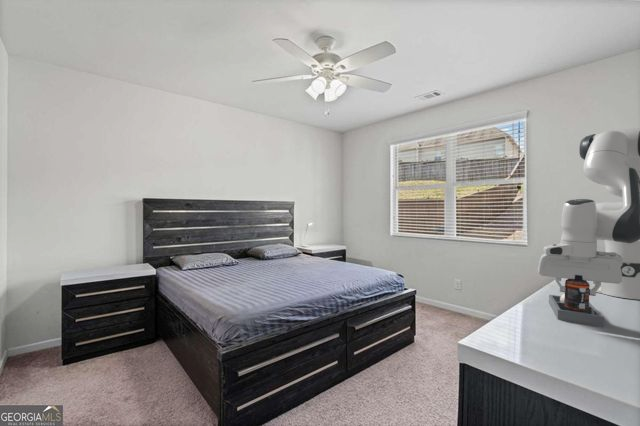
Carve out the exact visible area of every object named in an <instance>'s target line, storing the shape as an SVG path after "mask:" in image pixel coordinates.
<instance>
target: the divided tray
mask: <svg viewBox="0 0 640 426" xmlns="http://www.w3.org/2000/svg"><path fill="white" fill-rule="evenodd" d="M561 296H562V295H555V294H548V304H549V306H550V308H551V310H552V312H553V313H554V315H555V317H556V320H558V321H565V322H569V323H570V322H572V323H576V324H577V323H578V324H582V325H589V326H595V327H602V328H604V316H603V314H601V312H599V311H598V309H597V308H595V306H594V305H593V304H592V303H591V302H590V301H589V310H588V311H586V312H580V311H574V310H570V309H568V308H566V307H565V306H564V303H562V302H560V297H561Z"/></svg>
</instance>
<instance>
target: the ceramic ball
mask: <svg viewBox="0 0 640 426" xmlns="http://www.w3.org/2000/svg"><path fill="white" fill-rule="evenodd" d="M560 296H561V297H560V302H562V303H564V300H565V293H563V294H562V295H560Z"/></svg>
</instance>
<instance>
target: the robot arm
mask: <svg viewBox="0 0 640 426" xmlns="http://www.w3.org/2000/svg"><path fill="white" fill-rule="evenodd" d="M578 154H579V157H580V158H581V159H582V160H584V161H583V167H582V168H583V169H582V171H583V174H584V176H585V177H586V178H587V179H588V180H590V181H592V182H594V183H596V184H599V185H601V186H605V190H606V191H607V192H608V193H610V194H612V195H613V196H617V197H620V198H622V201H602V202H596V201H595V200H593V199H590V198H589V199H587V198H585V199H584V198H579V199H576V198H575V199H569V200H567V201H565V202H564V204H563V206H562V210H561V219H560V228H561V231H562V232H561V237H560V241H559V243H555V244H550V245H545V246H544V247H543V248H542V251H543V253H542V254H541V255H540V257H539V260H538V265H537V273H538V274H539V275H540V276H541V277H548V278H554V280H555V282H556V283H557V285H558V291H559V292H560V293H565V289H566V287H565V285H562V283H561V281H562V279H566V280H567V279H575V275H582V278H583V280H585V281H587V282H593V283H592V288H589V289H590V290H589V296H591V297H596V296H597V293H599V294H603V295H607V296H611V297H617V298H623V299H631V300H640V128H624V129H623V128H622V129H617V130H606V131H603V132H601V133H597V134H595V133H594V134H589V135H587V136H585V137H583V138H582V139H581V140H580V143H579V146H578ZM598 241H603V243H604V248H605V249H604V250H605V251H598Z"/></svg>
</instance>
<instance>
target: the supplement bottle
mask: <svg viewBox="0 0 640 426" xmlns="http://www.w3.org/2000/svg"><path fill="white" fill-rule="evenodd" d="M564 286H565V287H566V289H565V292H564V294H565V300H564V306H565V307H566V308H568V309H570V310H574V311H580V312H586V311H588V310H589V302H590V295H589V290H590V289H591V288H590V282H589V281H585V280H583V278H582V275H575V279H566V280H565V282H564Z"/></svg>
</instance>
